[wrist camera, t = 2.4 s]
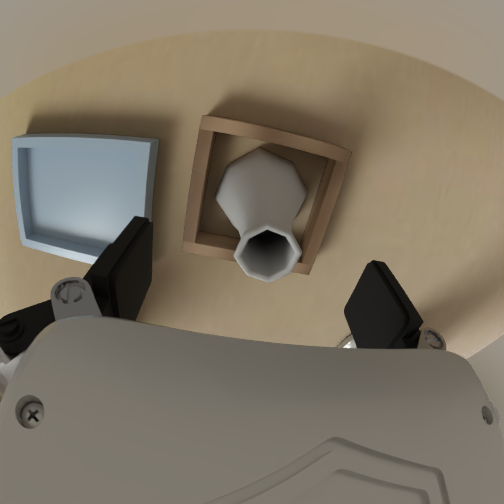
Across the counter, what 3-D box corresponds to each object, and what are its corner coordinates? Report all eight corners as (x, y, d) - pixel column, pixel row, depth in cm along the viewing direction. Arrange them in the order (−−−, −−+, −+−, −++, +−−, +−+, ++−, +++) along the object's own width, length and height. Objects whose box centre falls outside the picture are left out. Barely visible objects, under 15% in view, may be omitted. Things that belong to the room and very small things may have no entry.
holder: (342, 147, 20) (352, 151, 18) (304, 261, 25) (308, 275, 23) (207, 114, 19) (202, 115, 17) (187, 239, 24) (181, 251, 22)
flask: (263, 247, 25) (270, 328, 16) (199, 197, 22) (167, 260, 13) (322, 190, 22) (366, 249, 13) (257, 131, 19) (263, 149, 11)
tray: (159, 139, 19) (150, 142, 18) (149, 263, 25) (143, 276, 23) (25, 133, 18) (12, 138, 16) (32, 236, 24) (22, 245, 22)
